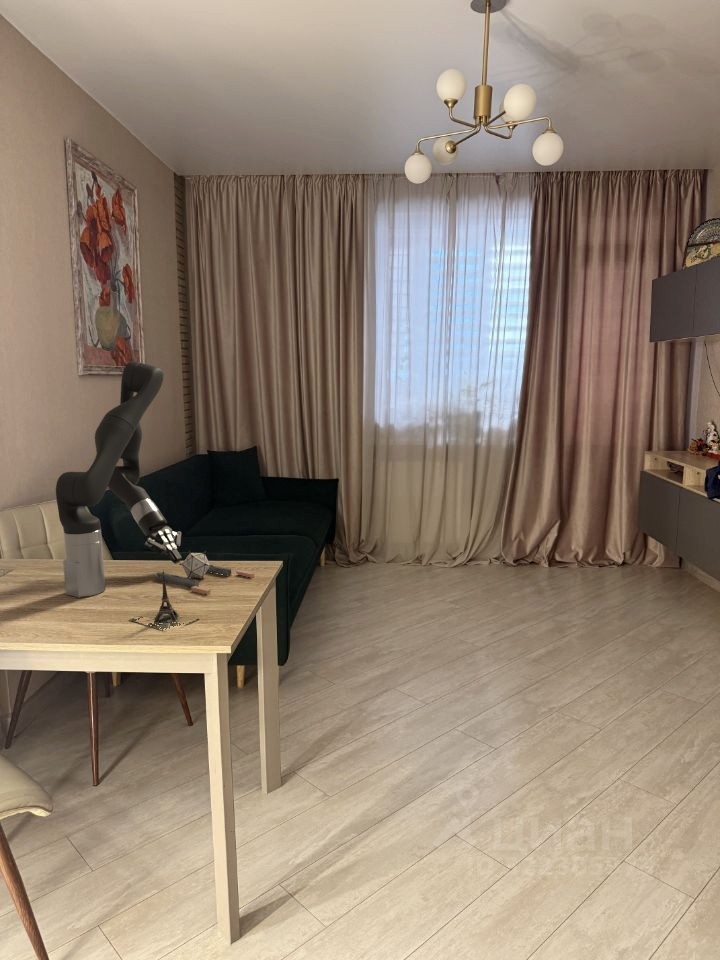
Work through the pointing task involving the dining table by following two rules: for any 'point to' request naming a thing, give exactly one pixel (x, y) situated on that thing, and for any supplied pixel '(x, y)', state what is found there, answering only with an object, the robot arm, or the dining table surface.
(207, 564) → the game die
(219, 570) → the chute
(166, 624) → the eiffel tower figurine
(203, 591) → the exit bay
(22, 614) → the dining table surface
